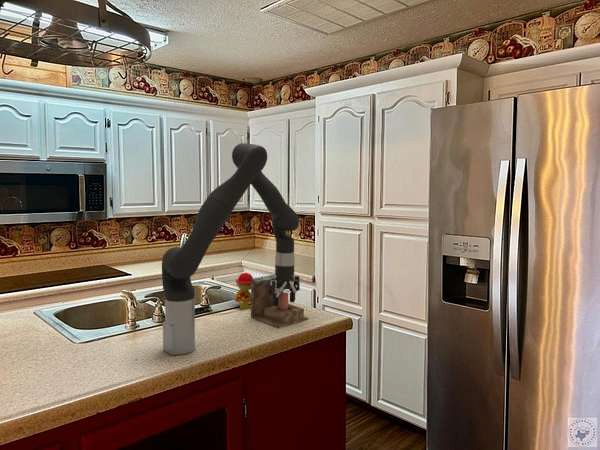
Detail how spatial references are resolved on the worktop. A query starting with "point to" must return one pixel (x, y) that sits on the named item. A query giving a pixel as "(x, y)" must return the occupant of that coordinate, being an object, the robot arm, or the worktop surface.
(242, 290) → the toy
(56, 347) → the worktop surface
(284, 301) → the peg
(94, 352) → the worktop surface
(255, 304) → the socket station
